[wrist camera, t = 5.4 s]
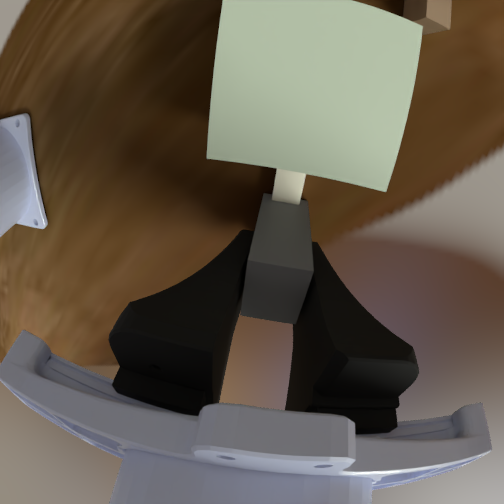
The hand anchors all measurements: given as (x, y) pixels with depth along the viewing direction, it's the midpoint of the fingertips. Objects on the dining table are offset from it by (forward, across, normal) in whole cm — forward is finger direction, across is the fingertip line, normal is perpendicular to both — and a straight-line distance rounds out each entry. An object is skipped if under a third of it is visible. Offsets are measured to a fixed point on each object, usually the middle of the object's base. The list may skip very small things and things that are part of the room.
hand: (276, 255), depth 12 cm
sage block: (+2, 0, -5) cm, 5 cm away
